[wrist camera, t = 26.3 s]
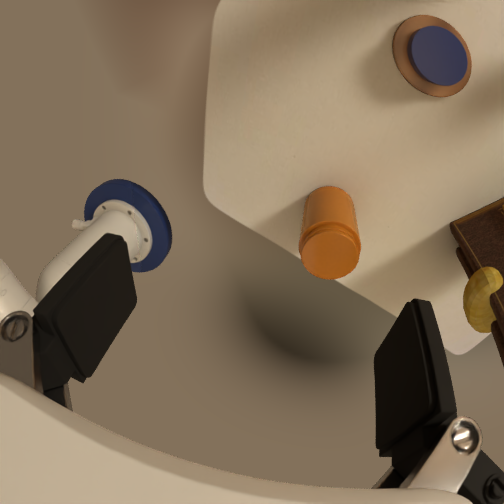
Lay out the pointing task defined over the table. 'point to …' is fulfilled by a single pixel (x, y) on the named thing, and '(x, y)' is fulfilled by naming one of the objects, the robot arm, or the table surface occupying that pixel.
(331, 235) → the jar
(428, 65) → the lid
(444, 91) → the coaster
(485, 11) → the table surface
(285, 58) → the table surface
